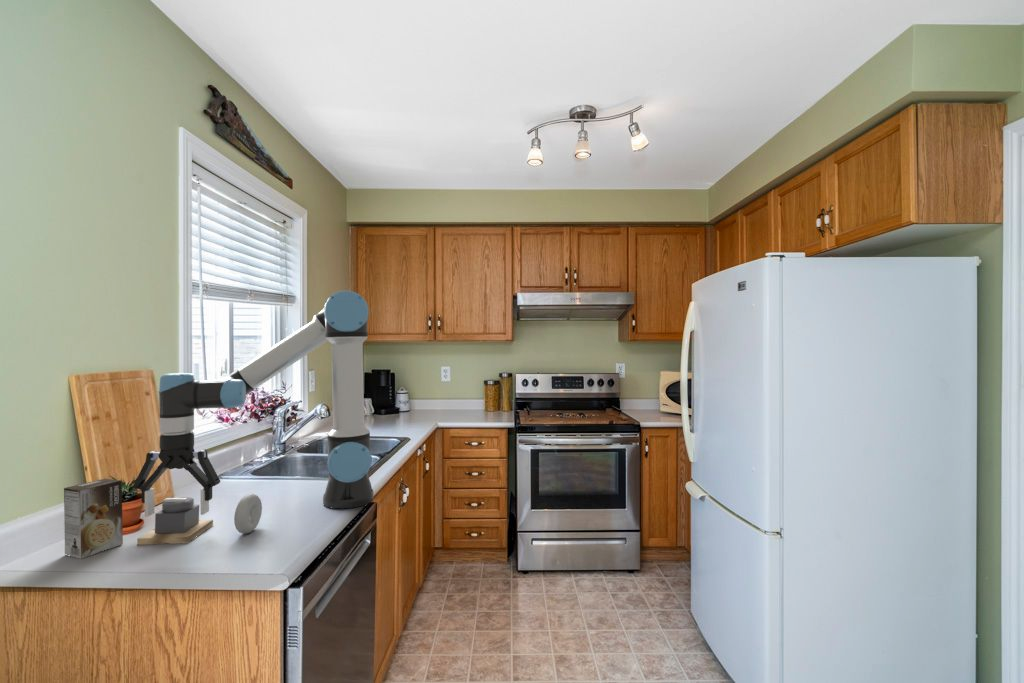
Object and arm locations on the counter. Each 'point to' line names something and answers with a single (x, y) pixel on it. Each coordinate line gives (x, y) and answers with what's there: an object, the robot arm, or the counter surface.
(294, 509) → the counter surface
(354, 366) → the robot arm
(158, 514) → the knob
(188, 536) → the base
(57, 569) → the counter surface
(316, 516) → the counter surface
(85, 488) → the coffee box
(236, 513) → the upright grey disc
